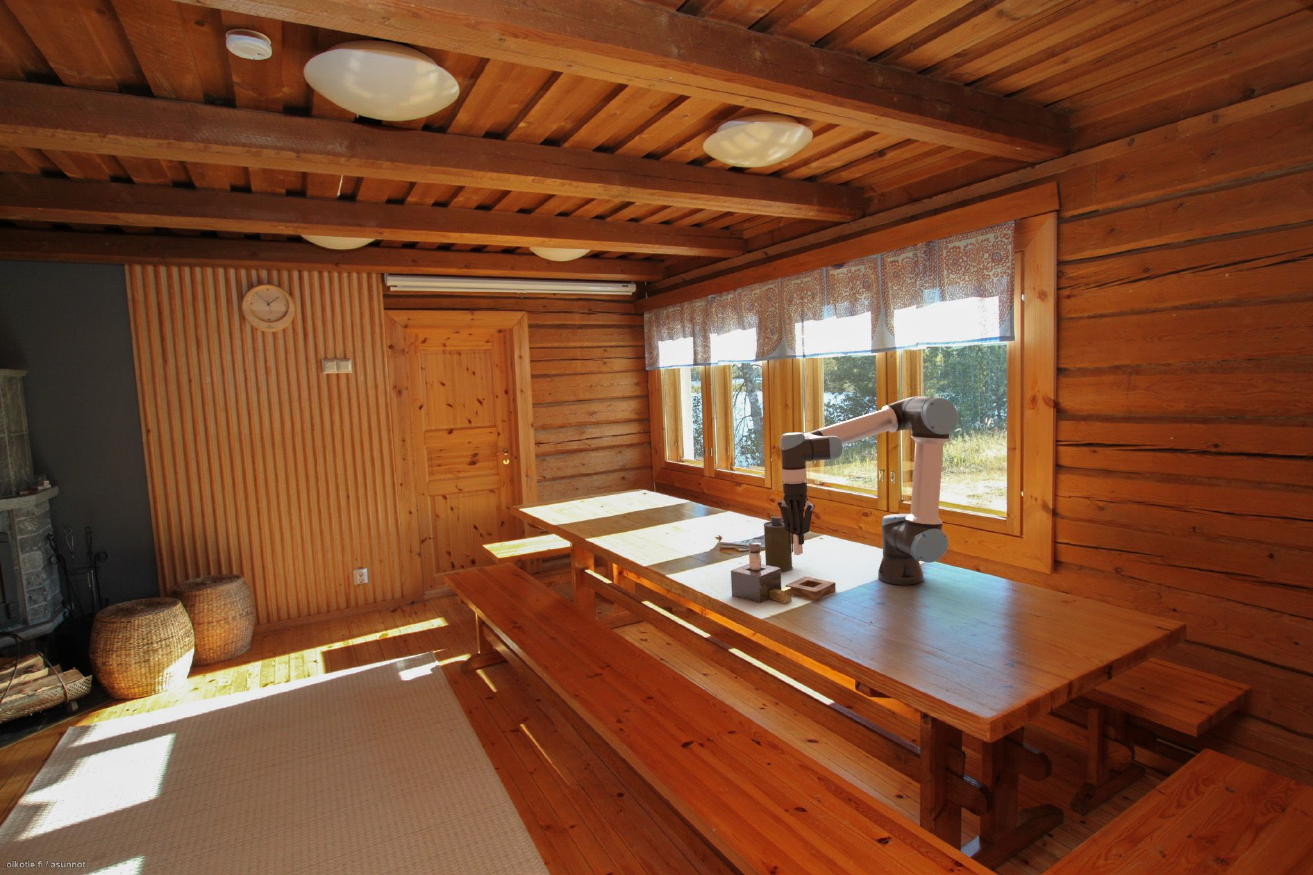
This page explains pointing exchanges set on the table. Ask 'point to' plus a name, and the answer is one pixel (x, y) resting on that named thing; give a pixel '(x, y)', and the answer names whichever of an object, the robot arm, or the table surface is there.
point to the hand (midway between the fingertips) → (798, 553)
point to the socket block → (755, 582)
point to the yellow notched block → (780, 595)
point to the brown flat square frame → (811, 588)
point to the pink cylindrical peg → (755, 556)
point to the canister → (778, 544)
